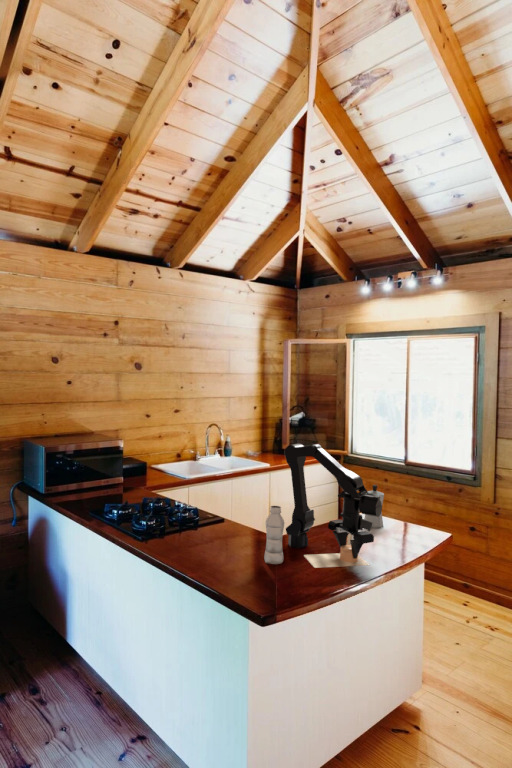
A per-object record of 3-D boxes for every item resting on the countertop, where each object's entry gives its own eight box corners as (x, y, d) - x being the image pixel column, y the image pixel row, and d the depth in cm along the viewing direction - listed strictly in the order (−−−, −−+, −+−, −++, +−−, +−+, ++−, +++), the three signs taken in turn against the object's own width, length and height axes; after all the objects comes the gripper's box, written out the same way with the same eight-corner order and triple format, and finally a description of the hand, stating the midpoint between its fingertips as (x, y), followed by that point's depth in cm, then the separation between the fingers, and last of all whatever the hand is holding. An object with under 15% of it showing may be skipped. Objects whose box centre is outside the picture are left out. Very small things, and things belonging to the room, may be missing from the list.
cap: (357, 563, 172) (357, 551, 172) (338, 560, 174) (339, 549, 174) (358, 557, 178) (359, 546, 178) (341, 554, 180) (341, 543, 180)
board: (314, 572, 167) (315, 558, 167) (303, 559, 179) (303, 545, 179) (369, 569, 172) (370, 555, 172) (355, 556, 183) (355, 543, 183)
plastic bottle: (277, 570, 168) (279, 510, 167) (260, 565, 171) (262, 507, 171) (286, 564, 173) (288, 506, 173) (269, 559, 177) (272, 503, 176)
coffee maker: (369, 520, 231) (371, 481, 231) (387, 524, 226) (389, 484, 226) (355, 527, 219) (357, 486, 219) (375, 531, 214) (376, 490, 214)
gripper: (387, 516, 172) (385, 561, 172) (352, 502, 188) (350, 544, 188) (361, 519, 166) (359, 566, 167) (328, 505, 183) (326, 548, 183)
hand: (349, 555), depth 176 cm, fingers closed on cap, 6 cm apart
